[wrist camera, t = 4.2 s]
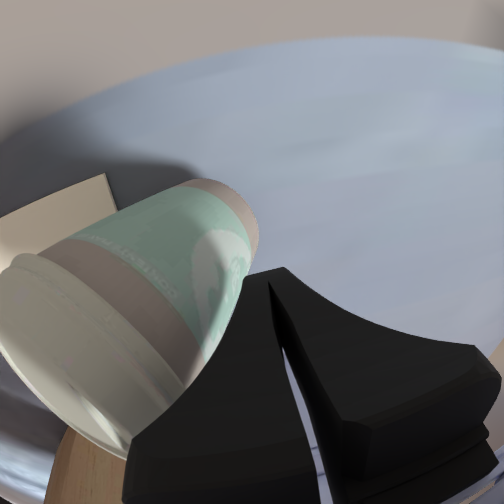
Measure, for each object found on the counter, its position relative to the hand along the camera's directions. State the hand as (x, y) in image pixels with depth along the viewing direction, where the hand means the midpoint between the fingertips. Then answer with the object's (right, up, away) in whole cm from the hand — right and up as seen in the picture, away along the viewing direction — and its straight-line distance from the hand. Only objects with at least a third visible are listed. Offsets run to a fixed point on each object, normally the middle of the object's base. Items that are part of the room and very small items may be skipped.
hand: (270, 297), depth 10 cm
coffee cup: (-3, +3, +7) cm, 9 cm away
